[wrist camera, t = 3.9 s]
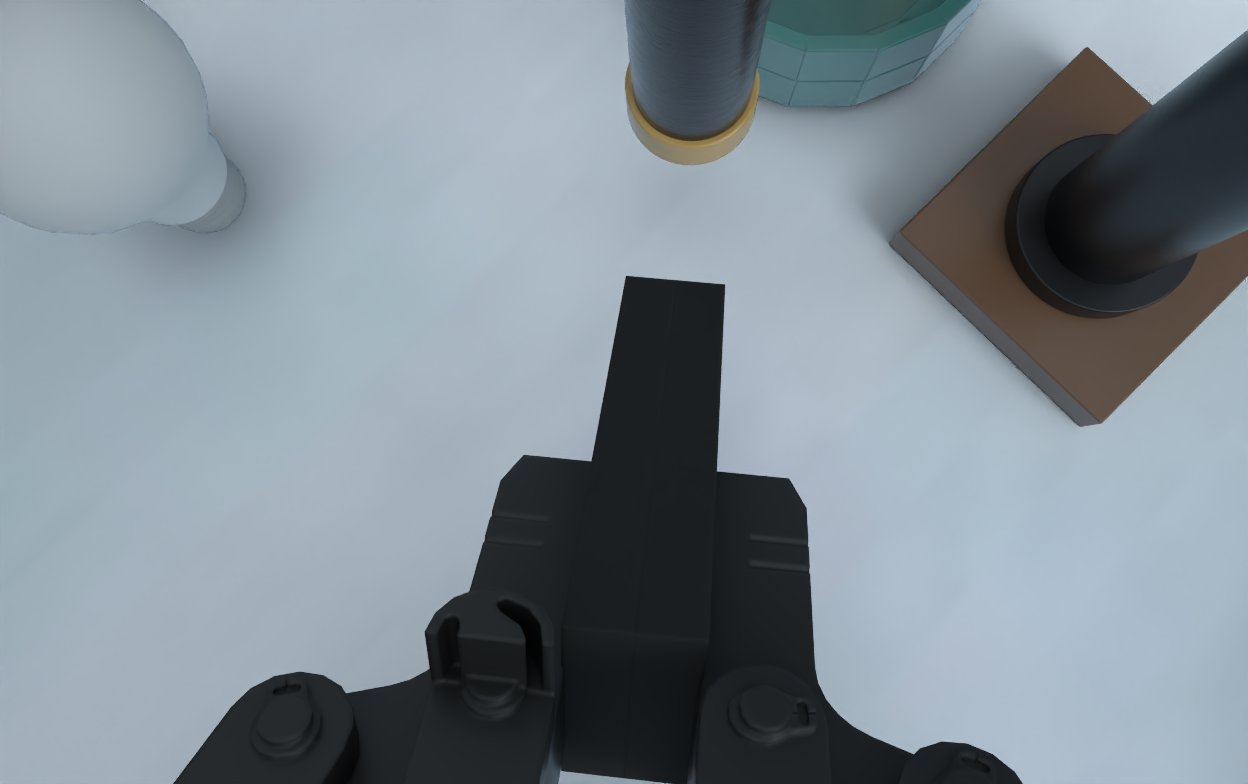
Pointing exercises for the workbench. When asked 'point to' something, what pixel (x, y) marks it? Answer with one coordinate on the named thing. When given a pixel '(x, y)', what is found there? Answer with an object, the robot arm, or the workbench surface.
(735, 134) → the spout
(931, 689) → the workbench surface
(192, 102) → the lightbulb
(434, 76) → the workbench surface
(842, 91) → the basin
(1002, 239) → the black post
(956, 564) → the workbench surface
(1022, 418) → the workbench surface
